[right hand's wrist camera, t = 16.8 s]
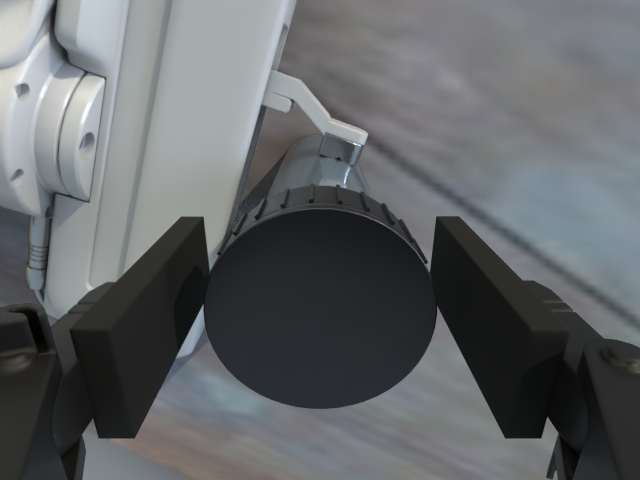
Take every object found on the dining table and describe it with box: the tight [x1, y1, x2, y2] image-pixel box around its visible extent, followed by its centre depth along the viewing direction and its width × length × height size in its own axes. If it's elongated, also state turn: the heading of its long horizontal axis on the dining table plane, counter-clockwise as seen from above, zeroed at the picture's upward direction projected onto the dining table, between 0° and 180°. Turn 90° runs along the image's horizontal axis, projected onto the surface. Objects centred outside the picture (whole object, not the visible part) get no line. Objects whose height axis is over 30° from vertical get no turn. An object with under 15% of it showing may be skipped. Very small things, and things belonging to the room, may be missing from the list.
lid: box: [203, 183, 437, 409], centre depth 11 cm, size 6×6×2 cm
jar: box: [266, 134, 375, 200], centre depth 18 cm, size 5×5×16 cm
